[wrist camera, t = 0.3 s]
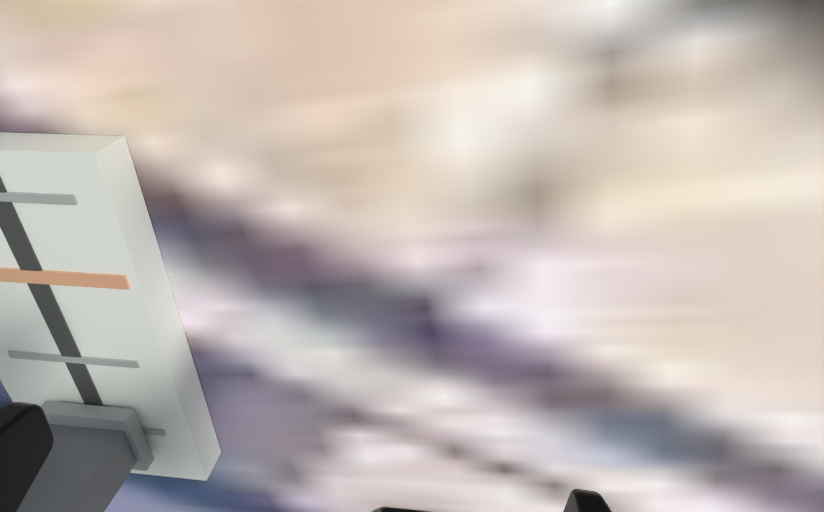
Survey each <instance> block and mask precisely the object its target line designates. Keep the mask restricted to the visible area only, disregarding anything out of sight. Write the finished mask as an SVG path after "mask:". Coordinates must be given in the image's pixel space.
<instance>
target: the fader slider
mask: <svg viewBox="0 0 824 512" xmlns="http://www.w3.org/2000/svg"><path fill="white" fill-rule="evenodd" d="M41 407H42V409H43V410H44V413H45V415H46V418H47V420H48V422H49V425H50V427H51V430H52V432H53V435H54V443H53V446H52V449H51V451H50V453H49V455H48V457H47V459H46V460H45V462H44V464H43V466H42V467H41V469H40V471H39V473H38V475H37V476H36V478H35V480H34V482H33V483H32V485H31V487H30V489H29V490H28V492H27V494H26V496H25V498H24V499H23V501H22V503H21V505H20V506H19V508H18V510H17V512H104V511H105V510H106V508H107V507H108V505H109V503H110V502H111V500H112V499H113V497H114V496H115V494H116V493H117V491H118V490H119V488H120V487H121V485H122V484H123V482H124V481H125V479H126V478H127V476H128V475H129V473H130V472H131V470H132V469H133V470H142V471H147V470H148V468H149V466H150V465H151V463H152V462H153V460H154V456H153V454H152V452H151V449H150V447H149V444H148V442H147V439H146V437H145V435H144V432H143V430H142V427H141V425H140V422H139V420H138V418H137V415H136V413H135V410H134V409H129V408H118V407H107V406H96V405H85V404H74V403H63V402H52V401H46V402H45V403H44V404H43V405H42V406H41Z"/></svg>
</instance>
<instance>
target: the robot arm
mask: <svg viewBox="0 0 824 512" xmlns="http://www.w3.org/2000/svg"><path fill="white" fill-rule="evenodd" d="M53 443H54V435H53V432H52V430H51V427H50V425H49V422H48V420H47V418H46V415H45V413H44V410H43V409H42V407H41V406H39V405H37V404H32V403H25V402H13V403H10V404H8V405H5V406H4V407H2V408H0V512H17V510H18V508H19V506H20V505H21V503H22V501H23V499H24V498H25V496H26V494H27V492H28V490H29V489H30V487H31V485H32V483H33V482H34V480H35V478H36V476H37V475H38V473H39V471H40V469H41V467H42V466H43V464H44V462H45V460H46V459H47V457H48V455H49V453H50V451H51V449H52V446H53ZM381 512H410V511H401V510H391V509H383V510H381ZM563 512H612V511H611V510H610V508H609V507H608V505H607V504H606V502H605V500H604V499H603V497H602V496H601V495H600V494H598V493H597V492H594V491H588V490H581V489H574V490H573V491H572V492H571V493H570V496H569V498H568V501H567V504H566V506H565V509H564V511H563Z"/></svg>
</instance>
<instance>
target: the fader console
mask: <svg viewBox="0 0 824 512" xmlns="http://www.w3.org/2000/svg"><path fill="white" fill-rule="evenodd" d="M0 380H1V382H2V384H3V385H4V387H5V389H6V391H7V392H8V394H9V396H10V398H11V399H12V401H13V402H25V403H32V404H37V405H39V406H42V405H43V404H44V403H45V402H46V401H52V402H63V403H74V404H85V405H96V406H107V407H118V408H129V409H134V410H135V413H136V415H137V418H138V420H139V422H140V425H141V427H142V430H143V432H144V435H145V437H146V439H147V442H148V444H149V447H150V449H151V452H152V454H153V456H154V460H153V462H152V463H151V465H150V466H149V468H148V470H147V471H142V470H133V469H132V470H131V472H130V473H138V474H148V475H157V476H167V477H176V478H186V479H196V480H205V481H207V479H208V477H209V475H210V473H211V471H212V469H213V467H214V465H215V463H216V461H217V459H218V457H219V455H220V453H221V450H220V446H219V443H218V440H217V436H216V433H215V430H214V427H213V423H212V420H211V417H210V414H209V410H208V407H207V404H206V400H205V397H204V394H203V391H202V387H201V384H200V381H199V378H198V374H197V371H196V368H195V365H194V361H193V358H192V355H191V351H190V348H189V345H188V342H187V338H186V335H185V332H184V329H183V325H182V322H181V319H180V315H179V312H178V309H177V306H176V302H175V299H174V296H173V293H172V289H171V286H170V283H169V279H168V276H167V273H166V270H165V266H164V263H163V260H162V257H161V253H160V250H159V247H158V243H157V240H156V237H155V234H154V230H153V227H152V224H151V221H150V217H149V214H148V211H147V208H146V204H145V201H144V198H143V194H142V191H141V188H140V185H139V181H138V178H137V175H136V172H135V168H134V165H133V162H132V158H131V155H130V152H129V149H128V145H127V142H126V139H125V136H101V135H69V134H37V133H5V132H0Z"/></svg>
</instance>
